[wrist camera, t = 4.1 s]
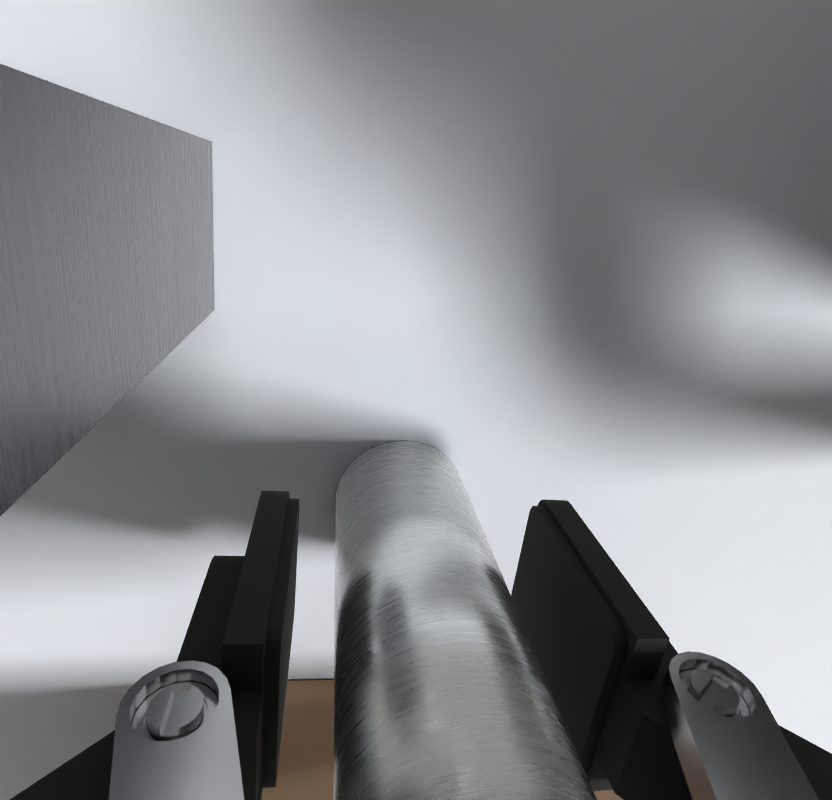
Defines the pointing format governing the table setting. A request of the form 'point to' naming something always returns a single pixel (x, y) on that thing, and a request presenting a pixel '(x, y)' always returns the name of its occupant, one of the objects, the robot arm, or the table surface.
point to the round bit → (434, 648)
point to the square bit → (90, 263)
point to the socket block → (315, 745)
